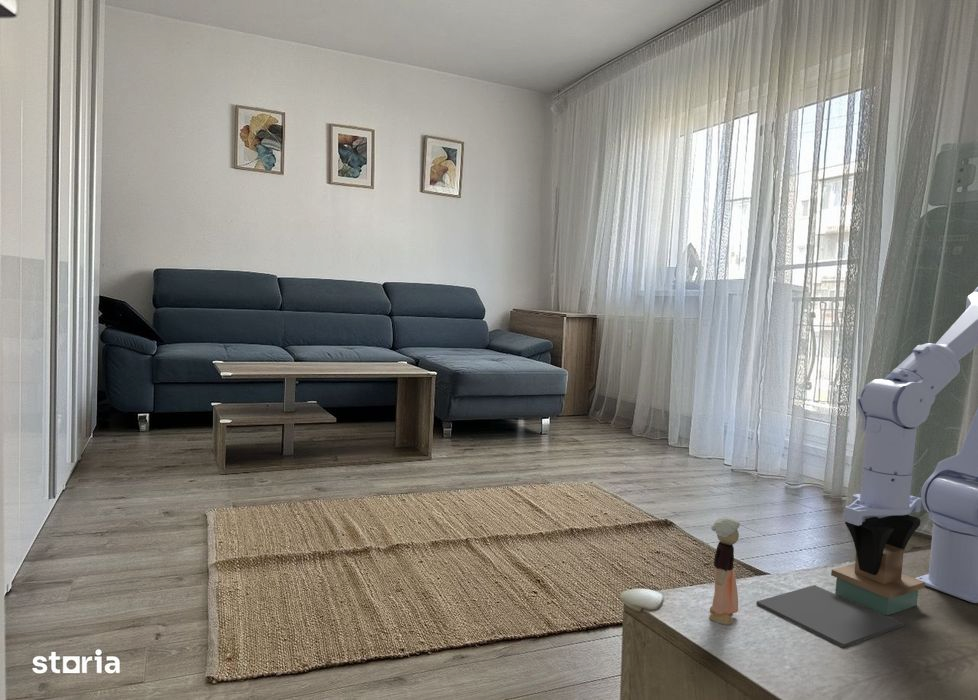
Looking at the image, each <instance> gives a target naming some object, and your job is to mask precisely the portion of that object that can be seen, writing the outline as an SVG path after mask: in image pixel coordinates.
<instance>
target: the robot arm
mask: <svg viewBox="0 0 978 700" xmlns="http://www.w3.org/2000/svg"><path fill="white" fill-rule="evenodd" d="M977 347H978V286H977V287H976V288H975V289H974V290H973V292H972V293H970V294H969V295H968V296H967V297H966V302H965V311H964V312H963V313H961V315H960V316H959V317H958V319H956V321H954V323H953V324H952V325H951V326H949V328H948V329H947V330H946V331H945V333H944V334H943V335H942V336H941V337H940V338H939V339H938V340H937V342H935V343H932V342H931V343H930V342H929V343H923V344H918V345H916V347H914V348H913V349H912V352H911V353H910V355H908V356H907V357H906V358H905V359H904V360H903V361H901V363H900V364H899V365H897V366H896V367H895V368H894V369H892V370H891V371H890V372H889V374H887V375H886V376H885V377H884V378H877V379H876V378H875V379H873V380H871V381H870V382H868V383H867V384H866V385H865V386H864V387H863V388H862V390H861V391H860V395H859V397H857V398H856V406H857V410H858V412H859V414H860V416H861V418H862V419H861V420H862V422H861V428H863V429H862V430H863V431H864V432H865V436H864V447H863V448H864V449H863V455H862V456H863V458H862V472H861V483H860V491H859V492H860V493H856V494H855V493H854V494H852V495H851V500H852V501H853V502H852V503H851V504H849V505H846V506H844V508H843V519H842V521H843V522H844V523H845V526H846V527H847V529H848V531H849V533H850V536H851V537H852V541H853V544H854V549H855V554H856V553H857V559H858V564H859V569H860V570H861V571H864V572H867V573H869V574H872V575H877V573H878V571H879V568H880V565H881V560H882V555H883V550H884V547H885V545H886V544H888V545H891V546H894V547H897V548H900V549H903V550H904V551H905V549H906V547H907V544H908V543H909V540H910V539H911V538H912V536H913V534H914V533H915V532H916V530H918V528H919V527H920V526H921V521H922V520H921V519H920V518H919V517H915V516H913V515H910V514H911V513H921V508H922V507H921V506H923V508H924V510H925V511H926V512H927V513H928V520H930V521H932V522H933V524H932V535H931V544H930V555H929V565H928V573H926V574H923V575H921V576H917V577H915V578H916V579H918V580H921V581H924V582H925V587H930V588H932V589H935V590H938V591H940V592H942V593H945V594H948V595H951V596H953V597H956V598H959V599H962V600H965V601H966V602H969V603H972V604H978V407H977V408H976V411H975V413H974V416H973V419H972V421H971V424H970V426H969V429H968V431H967V433H966V436H965V438H964V440H963V443H962V446H961V448H960V451H959V453H956V454H955V455H952V456H950V457H947V458H944V459H942V460H940V461H938V462H937V463H936V464H937V465H936V467H935V469H934V471H933V472H932V474H931V475H930V476H929V477H928V478H927V479H926V480H925V482H924V484H923V485H922V487H921V493H920V497H918V496H914V495H911V493H912V491H911V490H912V480H913V471H914V470H913V469H914V467H913V466H914V457H915V446H916V445H915V444H916V436H917V427H919V426H920V425H921V424H924V423H925V422H926V421H927V420H928V417H929V415H930V413H931V407H932V405H933V404H934V403H935V400H936V398H937V397H936V395H938V394H939V393H940V392H942V390H943V389H944V388H945V387H946V386H948V384H949V383H951V381H952V380H953V379H955V378H956V377H957V376H958V374H959V373H960V371H961V366H960V360H961V359H963V358H964V357H965V356H967V355H968V354H969V353H971V351H973V350H975V349H976V348H977Z"/></svg>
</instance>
